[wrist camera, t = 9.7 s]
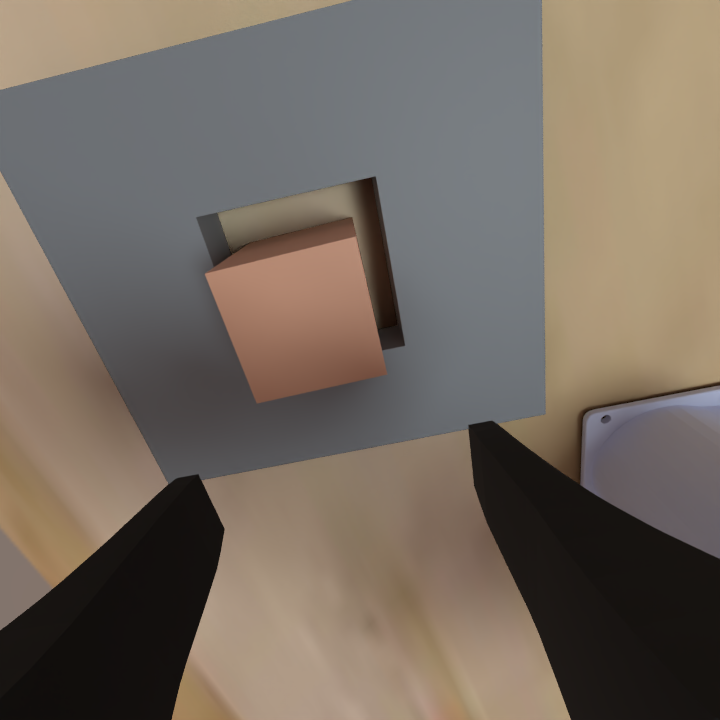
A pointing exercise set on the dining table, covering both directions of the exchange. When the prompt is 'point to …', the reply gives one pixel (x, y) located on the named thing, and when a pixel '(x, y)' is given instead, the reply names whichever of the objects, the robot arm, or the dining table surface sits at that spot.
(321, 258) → the square peg
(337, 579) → the dining table surface
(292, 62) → the socket board
